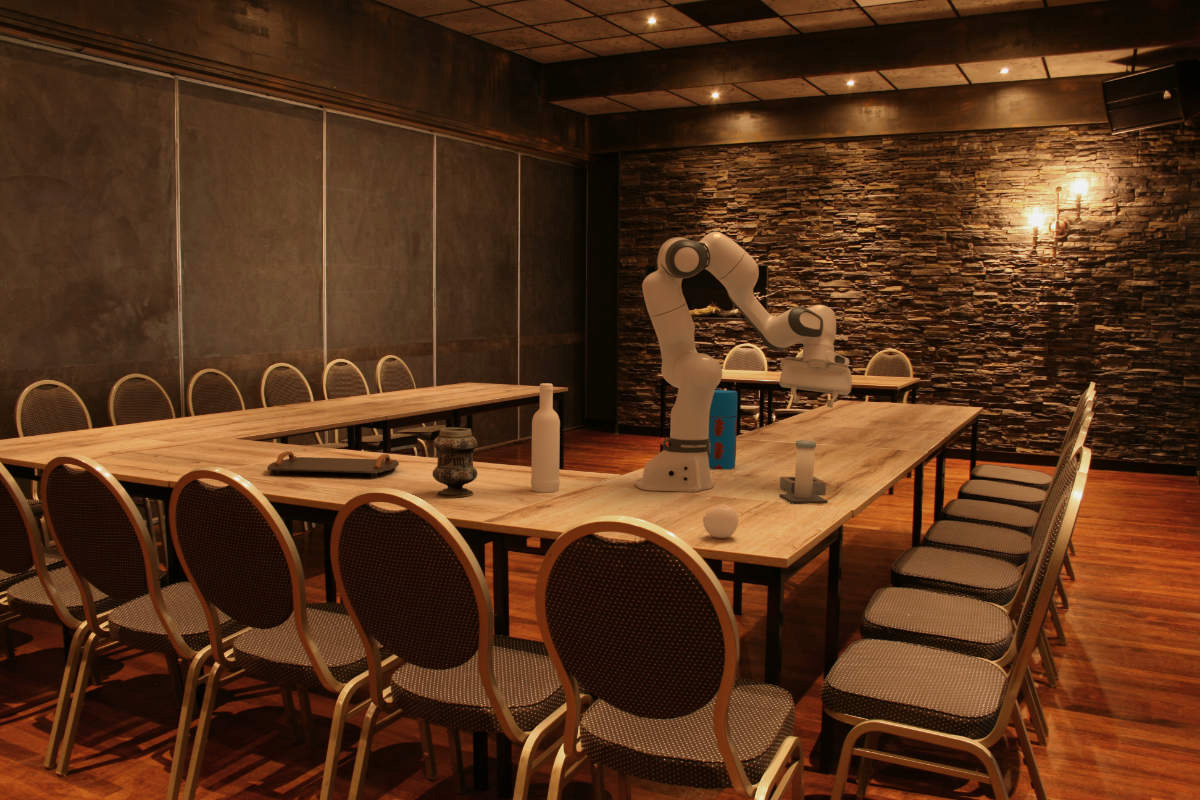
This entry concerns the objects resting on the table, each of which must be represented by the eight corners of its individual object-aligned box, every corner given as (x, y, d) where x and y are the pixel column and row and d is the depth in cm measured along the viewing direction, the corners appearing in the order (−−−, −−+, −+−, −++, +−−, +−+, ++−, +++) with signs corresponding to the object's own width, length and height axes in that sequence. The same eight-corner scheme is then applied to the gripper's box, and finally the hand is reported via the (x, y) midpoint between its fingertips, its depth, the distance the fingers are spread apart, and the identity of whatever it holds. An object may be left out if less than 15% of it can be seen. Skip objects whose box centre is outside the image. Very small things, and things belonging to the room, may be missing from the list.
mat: (791, 503, 259) (791, 500, 259) (779, 496, 269) (779, 493, 269) (827, 503, 261) (827, 500, 261) (814, 496, 271) (814, 493, 271)
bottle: (555, 493, 269) (556, 385, 266) (527, 491, 270) (528, 384, 268) (562, 488, 277) (563, 383, 274) (535, 486, 278) (536, 382, 276)
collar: (791, 495, 272) (791, 482, 271) (779, 488, 282) (780, 476, 281) (825, 494, 273) (825, 482, 273) (813, 488, 283) (813, 476, 283)
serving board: (257, 477, 289) (256, 457, 288) (288, 465, 312) (288, 446, 311) (384, 481, 286) (384, 460, 285) (406, 468, 309) (406, 449, 308)
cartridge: (796, 498, 262) (799, 443, 260) (790, 495, 267) (793, 440, 266) (816, 499, 263) (819, 443, 261) (809, 495, 268) (812, 440, 267)
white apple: (727, 533, 224) (728, 499, 223) (744, 540, 217) (746, 506, 216) (696, 535, 221) (697, 502, 220) (713, 543, 214) (714, 508, 213)
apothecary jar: (484, 491, 269) (484, 427, 268) (466, 499, 258) (466, 432, 256) (443, 489, 273) (444, 425, 271) (425, 496, 261) (424, 430, 260)
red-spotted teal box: (734, 470, 313) (736, 393, 310) (700, 469, 315) (702, 392, 313) (736, 465, 323) (738, 390, 321) (704, 463, 325) (706, 389, 323)
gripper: (782, 351, 280) (777, 396, 275) (854, 360, 277) (850, 405, 273) (780, 359, 286) (775, 403, 281) (851, 368, 283) (847, 412, 279)
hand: (813, 404), depth 277 cm, fingers open, 8 cm apart
